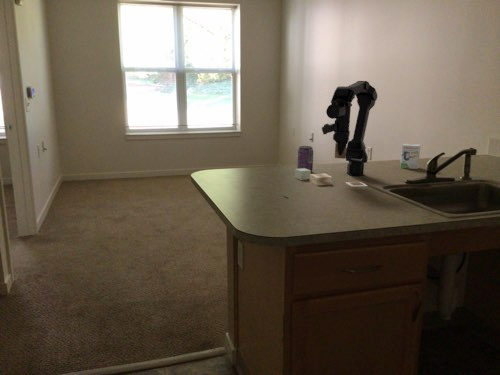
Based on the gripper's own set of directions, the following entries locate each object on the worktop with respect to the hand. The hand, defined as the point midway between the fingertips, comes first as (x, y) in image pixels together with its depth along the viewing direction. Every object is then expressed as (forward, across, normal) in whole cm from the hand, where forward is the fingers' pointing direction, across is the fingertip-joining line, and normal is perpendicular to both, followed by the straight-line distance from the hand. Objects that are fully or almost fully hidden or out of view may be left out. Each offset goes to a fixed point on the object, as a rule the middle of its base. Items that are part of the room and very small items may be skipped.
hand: (340, 154), depth 189 cm
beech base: (+12, +4, -7) cm, 15 cm away
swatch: (+12, +3, +8) cm, 14 cm away
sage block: (+12, -2, -16) cm, 20 cm away
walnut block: (+1, 0, 0) cm, 1 cm away
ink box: (+11, -42, +33) cm, 55 cm away
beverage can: (+12, -16, -16) cm, 26 cm away
